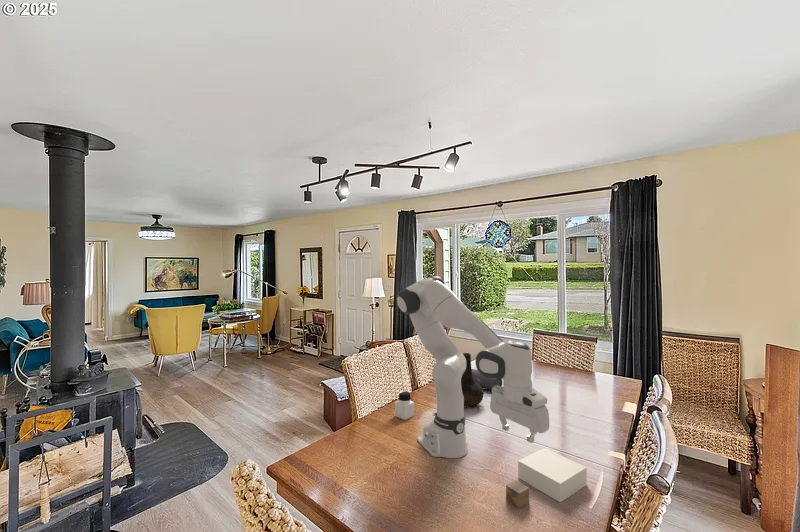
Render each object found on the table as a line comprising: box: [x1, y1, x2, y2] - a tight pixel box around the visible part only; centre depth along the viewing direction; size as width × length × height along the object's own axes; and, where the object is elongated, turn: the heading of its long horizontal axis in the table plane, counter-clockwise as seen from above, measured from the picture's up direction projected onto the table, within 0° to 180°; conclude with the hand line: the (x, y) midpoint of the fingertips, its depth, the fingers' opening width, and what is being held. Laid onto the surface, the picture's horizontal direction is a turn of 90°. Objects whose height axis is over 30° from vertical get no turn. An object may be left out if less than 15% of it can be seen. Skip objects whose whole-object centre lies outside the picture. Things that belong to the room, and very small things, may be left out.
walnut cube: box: [505, 479, 530, 510], centre depth 111 cm, size 5×5×5 cm
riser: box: [517, 447, 588, 503], centre depth 122 cm, size 16×16×6 cm
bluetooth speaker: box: [471, 368, 503, 390], centre depth 218 cm, size 23×9×10 cm, turn 42°
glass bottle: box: [461, 352, 485, 408], centre depth 191 cm, size 18×18×28 cm
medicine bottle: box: [394, 390, 415, 421], centre depth 176 cm, size 7×7×12 cm
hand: (517, 435), depth 112 cm, fingers open, 8 cm apart
